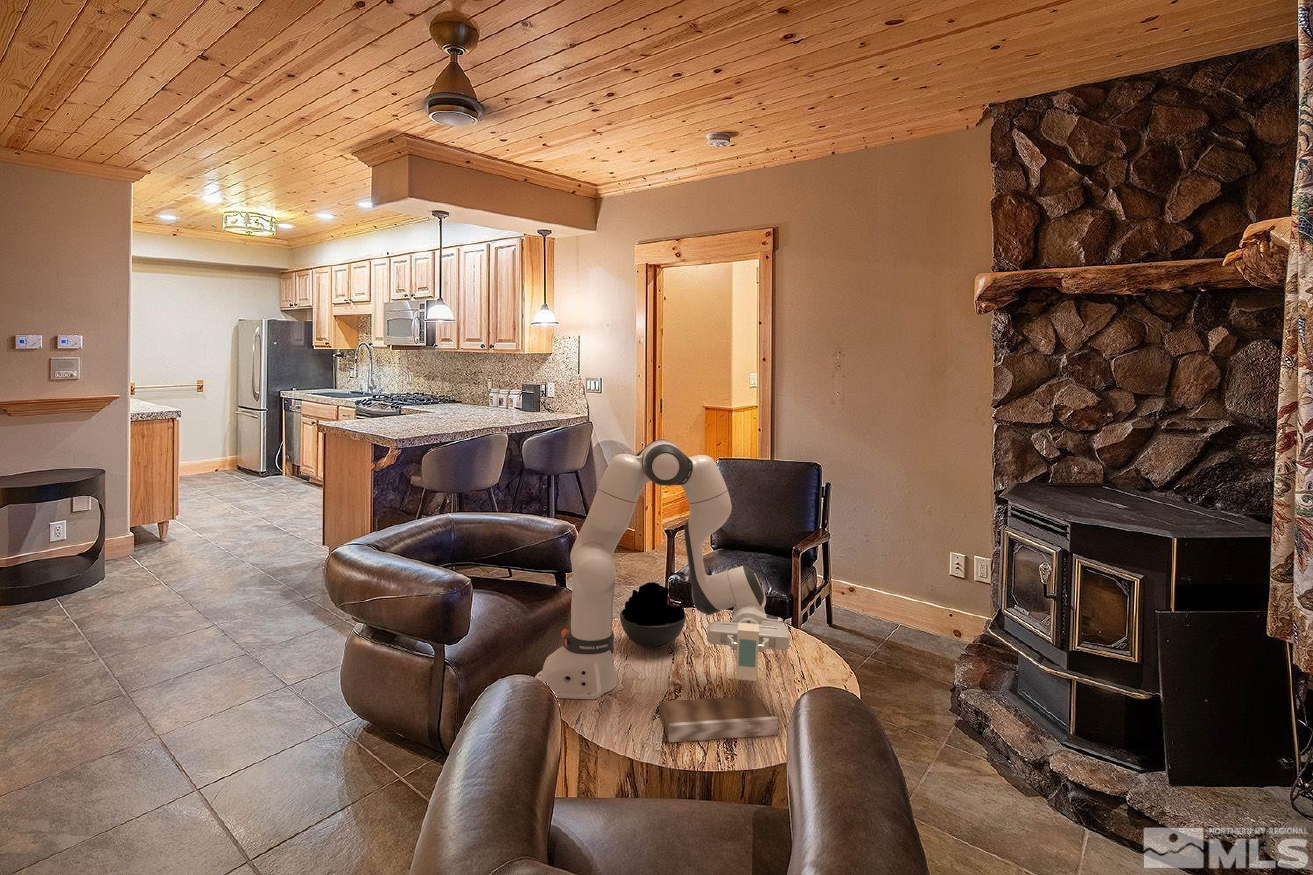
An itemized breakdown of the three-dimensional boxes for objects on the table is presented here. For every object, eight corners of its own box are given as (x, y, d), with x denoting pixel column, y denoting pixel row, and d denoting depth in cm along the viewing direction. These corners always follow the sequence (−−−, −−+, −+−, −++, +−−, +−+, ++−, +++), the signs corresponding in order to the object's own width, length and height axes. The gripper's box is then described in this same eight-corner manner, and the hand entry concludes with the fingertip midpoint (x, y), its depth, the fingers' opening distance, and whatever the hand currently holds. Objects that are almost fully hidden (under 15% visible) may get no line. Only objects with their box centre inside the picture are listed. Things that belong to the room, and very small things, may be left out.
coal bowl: (678, 631, 225) (680, 575, 222) (690, 658, 205) (692, 596, 203) (616, 633, 222) (617, 576, 220) (622, 661, 202) (623, 598, 200)
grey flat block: (669, 742, 160) (669, 726, 160) (658, 708, 176) (659, 693, 175) (778, 735, 164) (778, 719, 164) (758, 702, 180) (759, 688, 179)
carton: (736, 670, 170) (738, 622, 169) (756, 671, 170) (759, 624, 169) (735, 679, 165) (737, 630, 164) (756, 681, 164) (759, 632, 163)
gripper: (708, 611, 181) (704, 631, 167) (788, 618, 178) (791, 638, 164) (707, 635, 181) (703, 656, 168) (787, 642, 179) (789, 664, 165)
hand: (747, 647), depth 166 cm, fingers closed on carton, 5 cm apart
